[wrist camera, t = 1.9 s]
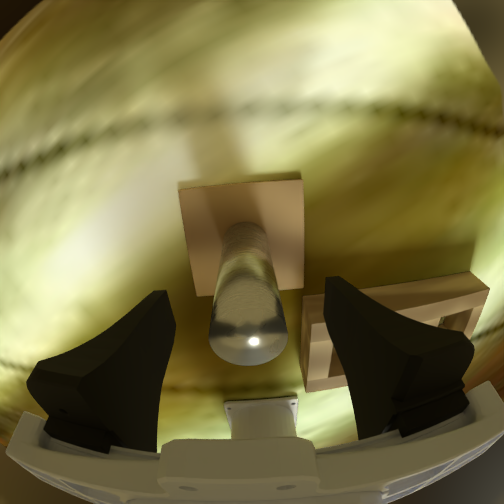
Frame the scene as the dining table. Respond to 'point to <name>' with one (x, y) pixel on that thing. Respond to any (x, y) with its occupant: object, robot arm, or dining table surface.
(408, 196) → the dining table surface
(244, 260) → the pin
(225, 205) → the cork coaster
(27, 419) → the robot arm
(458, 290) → the wooden rectangular frame
